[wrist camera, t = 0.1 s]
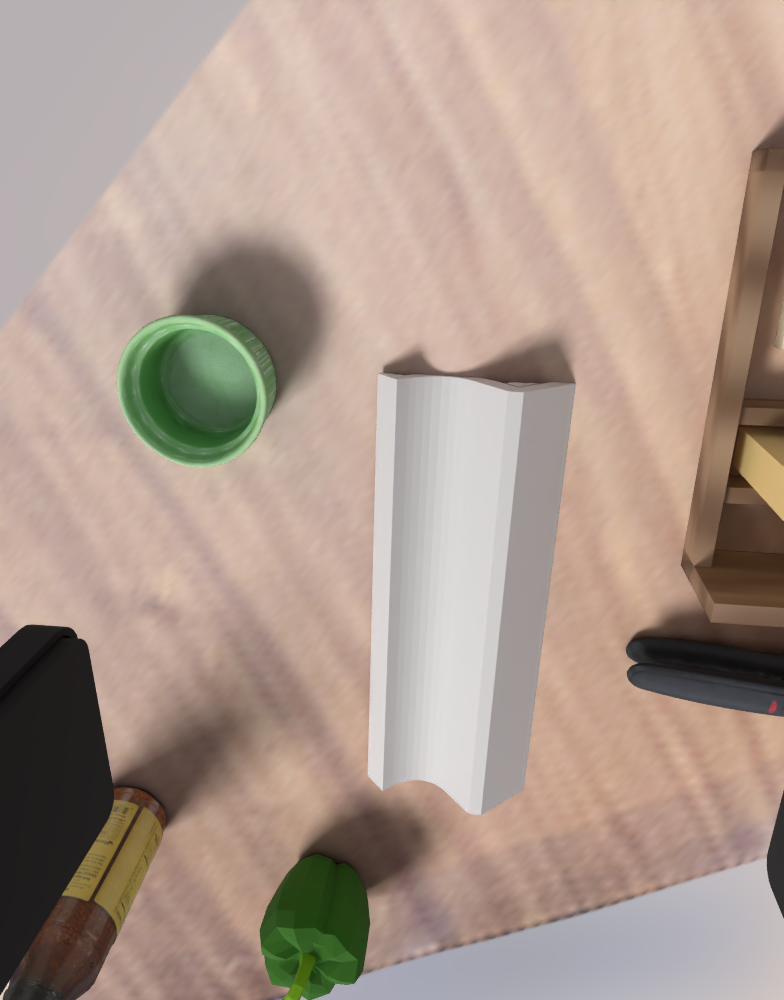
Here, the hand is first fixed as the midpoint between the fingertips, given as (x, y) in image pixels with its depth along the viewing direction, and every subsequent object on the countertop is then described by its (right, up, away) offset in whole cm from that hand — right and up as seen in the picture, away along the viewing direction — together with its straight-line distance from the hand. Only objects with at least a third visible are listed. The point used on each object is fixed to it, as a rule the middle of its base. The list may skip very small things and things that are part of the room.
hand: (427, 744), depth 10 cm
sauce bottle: (-22, -23, +52) cm, 61 cm away
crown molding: (+4, -4, +42) cm, 42 cm away
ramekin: (-12, +11, +37) cm, 41 cm away
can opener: (+24, -8, +40) cm, 48 cm away
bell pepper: (-6, -28, +53) cm, 60 cm away
